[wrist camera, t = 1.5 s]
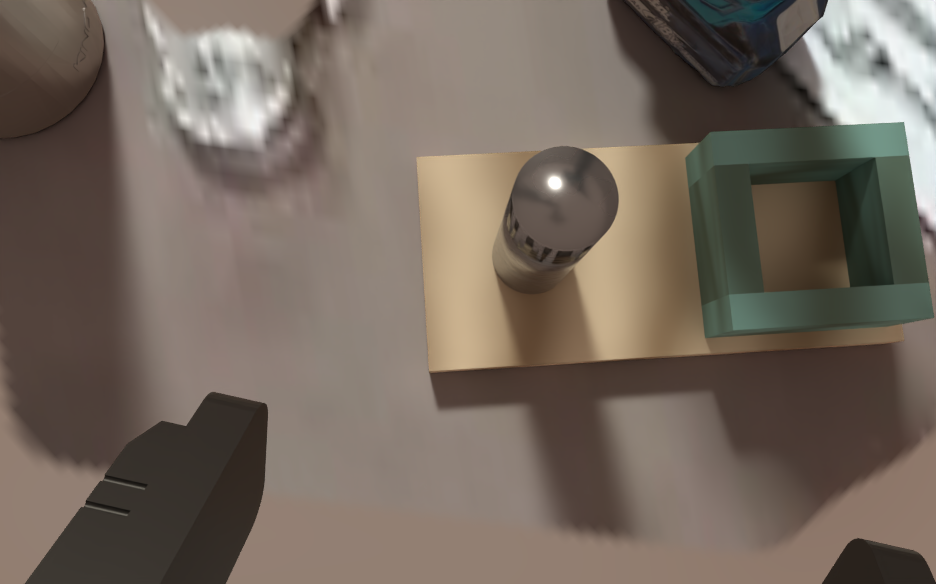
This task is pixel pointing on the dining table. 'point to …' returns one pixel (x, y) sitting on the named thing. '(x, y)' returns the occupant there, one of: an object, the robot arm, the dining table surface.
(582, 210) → the dark grey metallic cylinder
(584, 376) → the dining table surface
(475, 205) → the board
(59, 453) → the dining table surface
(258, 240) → the dining table surface
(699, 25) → the impact wrench
